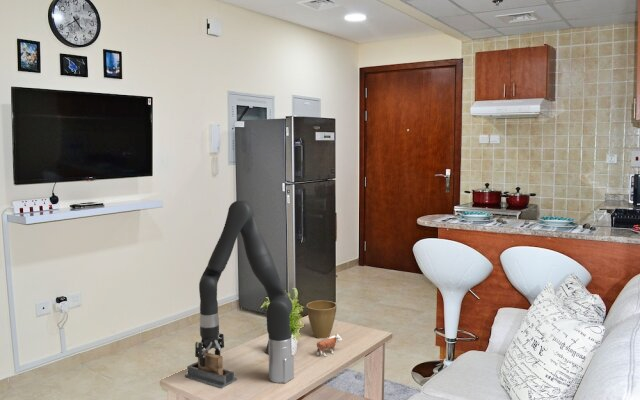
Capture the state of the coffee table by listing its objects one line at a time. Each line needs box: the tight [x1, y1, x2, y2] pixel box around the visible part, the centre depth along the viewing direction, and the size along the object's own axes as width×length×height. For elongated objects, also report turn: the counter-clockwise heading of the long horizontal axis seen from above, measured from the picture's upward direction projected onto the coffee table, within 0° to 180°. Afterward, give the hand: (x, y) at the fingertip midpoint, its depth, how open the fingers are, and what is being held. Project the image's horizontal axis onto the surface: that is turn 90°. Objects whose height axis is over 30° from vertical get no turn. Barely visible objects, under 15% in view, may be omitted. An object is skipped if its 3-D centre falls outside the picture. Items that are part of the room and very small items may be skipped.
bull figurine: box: [316, 333, 343, 357], centre depth 251 cm, size 4×13×8 cm, turn 125°
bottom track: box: [184, 361, 238, 389], centre depth 225 cm, size 20×9×4 cm, turn 58°
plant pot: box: [306, 300, 338, 339], centre depth 274 cm, size 15×15×16 cm
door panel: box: [197, 352, 224, 375], centre depth 225 cm, size 11×2×9 cm, turn 59°
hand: (210, 362), depth 224 cm, fingers open, 8 cm apart
